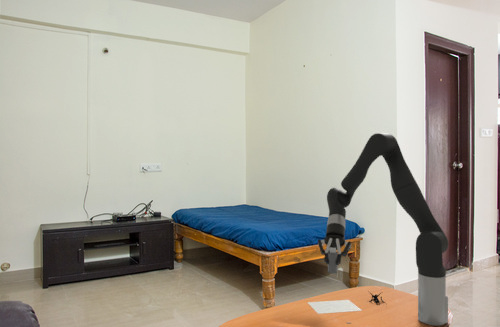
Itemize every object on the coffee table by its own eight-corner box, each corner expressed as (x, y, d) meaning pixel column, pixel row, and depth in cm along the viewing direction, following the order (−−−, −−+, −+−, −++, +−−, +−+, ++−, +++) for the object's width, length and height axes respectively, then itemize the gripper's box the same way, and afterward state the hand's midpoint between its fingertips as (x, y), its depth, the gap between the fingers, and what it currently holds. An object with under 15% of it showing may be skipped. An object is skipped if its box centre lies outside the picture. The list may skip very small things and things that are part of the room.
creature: (388, 311, 153) (384, 300, 161) (389, 299, 152) (385, 288, 160) (368, 310, 154) (365, 299, 162) (369, 298, 153) (365, 288, 161)
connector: (328, 269, 154) (329, 246, 154) (338, 270, 153) (338, 247, 153) (327, 272, 149) (327, 248, 149) (336, 273, 148) (336, 249, 148)
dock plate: (348, 302, 160) (348, 299, 160) (362, 313, 148) (362, 310, 148) (307, 305, 156) (307, 302, 156) (318, 316, 144) (318, 313, 144)
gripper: (318, 221, 160) (313, 257, 149) (352, 223, 156) (350, 260, 144) (319, 231, 165) (315, 267, 154) (353, 234, 161) (351, 270, 149)
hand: (332, 263), depth 149 cm, fingers closed on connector, 3 cm apart
